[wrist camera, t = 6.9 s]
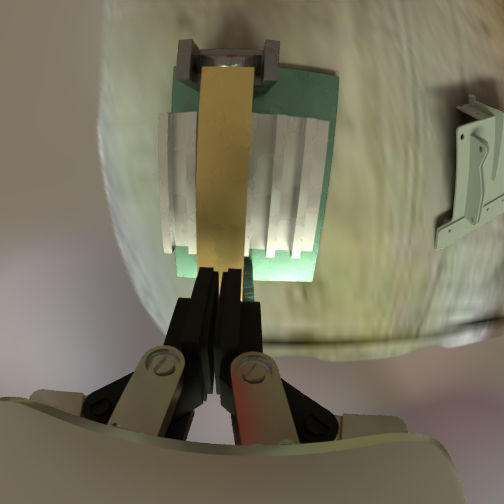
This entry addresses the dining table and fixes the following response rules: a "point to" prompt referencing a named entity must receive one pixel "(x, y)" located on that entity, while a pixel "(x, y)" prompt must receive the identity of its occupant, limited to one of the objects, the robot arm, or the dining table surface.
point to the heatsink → (255, 166)
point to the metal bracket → (476, 172)
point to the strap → (223, 158)
